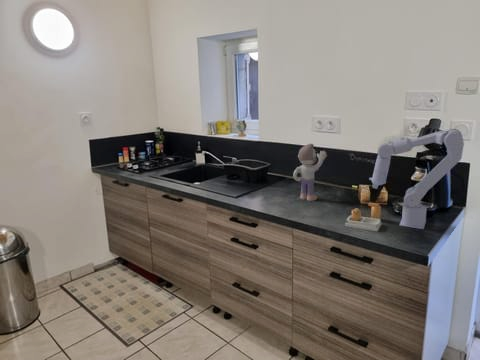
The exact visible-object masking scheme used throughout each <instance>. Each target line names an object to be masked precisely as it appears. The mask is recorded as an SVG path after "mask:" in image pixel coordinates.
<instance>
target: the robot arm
mask: <svg viewBox="0 0 480 360" xmlns="http://www.w3.org/2000/svg"><path fill="white" fill-rule="evenodd" d="M432 143H435V144H438V145H443V143H444V146H445V148H446V152H447V155H446V156H445V157H444V158H442V159H441V160H440V161H439V163H437V164H436V166H434V167H433V168H432V169H431V170H430V171H429V172H428V173H427V174H426V175H425V176H424V177H423V178H422V179H421V180H420V181H419V182H417V183H416V184H415V185H414V186H411V187H409V188H408V189H406V191H405V195H404V196H403V203H402V210H401V211H402V213H401V220H400V222H399V227H407V228H414V229H420V230H424V229H425V225H426V223H427V209H428V208H427V207H428V206H426V205H425V206H424V205H422V203H421V201H422V199H423V198H424V196H425V195H426V194H427V192H428V191H429V190H430V189H432V188H433V187H434V185H436V184H437V183H438V182H439V181H440V180H441V179H443V177H444V176H446V175H447V173H448V172H450V171H451V170H452V169H453V168H454V167H455V166H456V165H457V164H458V163H459V162H460V161H461V160H462V158H463V157H462V156H463V152H464V146H465V144H464V143H465V142H464V139H463V134H462V132H461V131H460V130H459V129H458V128H450V129H448V130H447V129H445V130H444V129H443V130H440V131H435V132H432V133H428V134H425V135H423V136H422V135H421V136H420V137H416V138H413V139H412V138H411V139H410V138H408V137H404V136H402V137H401V138H400V139H397V140H393V141H392V140H390V141H388V142H384V143H382V144H381V145H380V146H379V147H378V149H377V156H376V160H375V165H374V169H373V173H372V177H369V178H368V180H369V181H371V182H372V184H369V185H368V189H369V201H370V203H376V201H377V199H378V198H379V197H380V195H381V193H382V191H383V190H384V187H385V186H386V185H387V177H388V173H389V169H390V165H391V158H392V155H395V156H396V155H400V154H404V153H408V152H411V151H412V150H413V148H415V147H420V146H426V145H428V144H432Z"/></svg>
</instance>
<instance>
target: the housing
mask: <svg viewBox="0 0 480 360" xmlns="http://www.w3.org/2000/svg"><path fill="white" fill-rule="evenodd" d="M381 220H382V219H381V218H380V219H374V218H371V217H367V216H366V217H365V216H362V210H361V209H359V208H356V207H355V208H354V209H351V214H349V216H348V217H347V218H346V220H345V224H344V226H345V227H347V228H353V229H359V230H365V231H371V232H379V229H380V228H381V226H382V221H381Z"/></svg>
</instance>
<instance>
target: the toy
mask: <svg viewBox="0 0 480 360" xmlns="http://www.w3.org/2000/svg"><path fill="white" fill-rule="evenodd" d="M314 145H315V144H313V143H307V144H305V145H304V146H302V147H300V149H299V151H298V155H297V158H298V160H299V162H300V163H301V165H299V166H297V167H296V168H295V169H294V171H293V174H292V175H293V176H292V178H293V179H294V180H295V181H296V182H301V184H300V185H301V186H300V188H301V189H300V196H299V199H301V200H307V201H310V202H312V201H316V200H317V199H318V196H317V195H316V193H315V185H314V184H315V180H316V178H315V172H317V171H319V169H320V167H321V166H322V164H323V162H324V161H325V159H326V158H327V156H328V154H327V151H325V150H320V152H319V153H316V152H317V150H315V148H314ZM317 158H318V161H317ZM316 162H317V163H316ZM298 174H300V176H298Z"/></svg>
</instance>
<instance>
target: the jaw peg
mask: <svg viewBox="0 0 480 360" xmlns="http://www.w3.org/2000/svg"><path fill="white" fill-rule="evenodd" d="M367 206H369V207H371V212H370V218H374V219H381V214H382V213H381V212H382V211H381V210H382V206H381V205H380V204H379V203H375V202H368V204H367Z"/></svg>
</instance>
